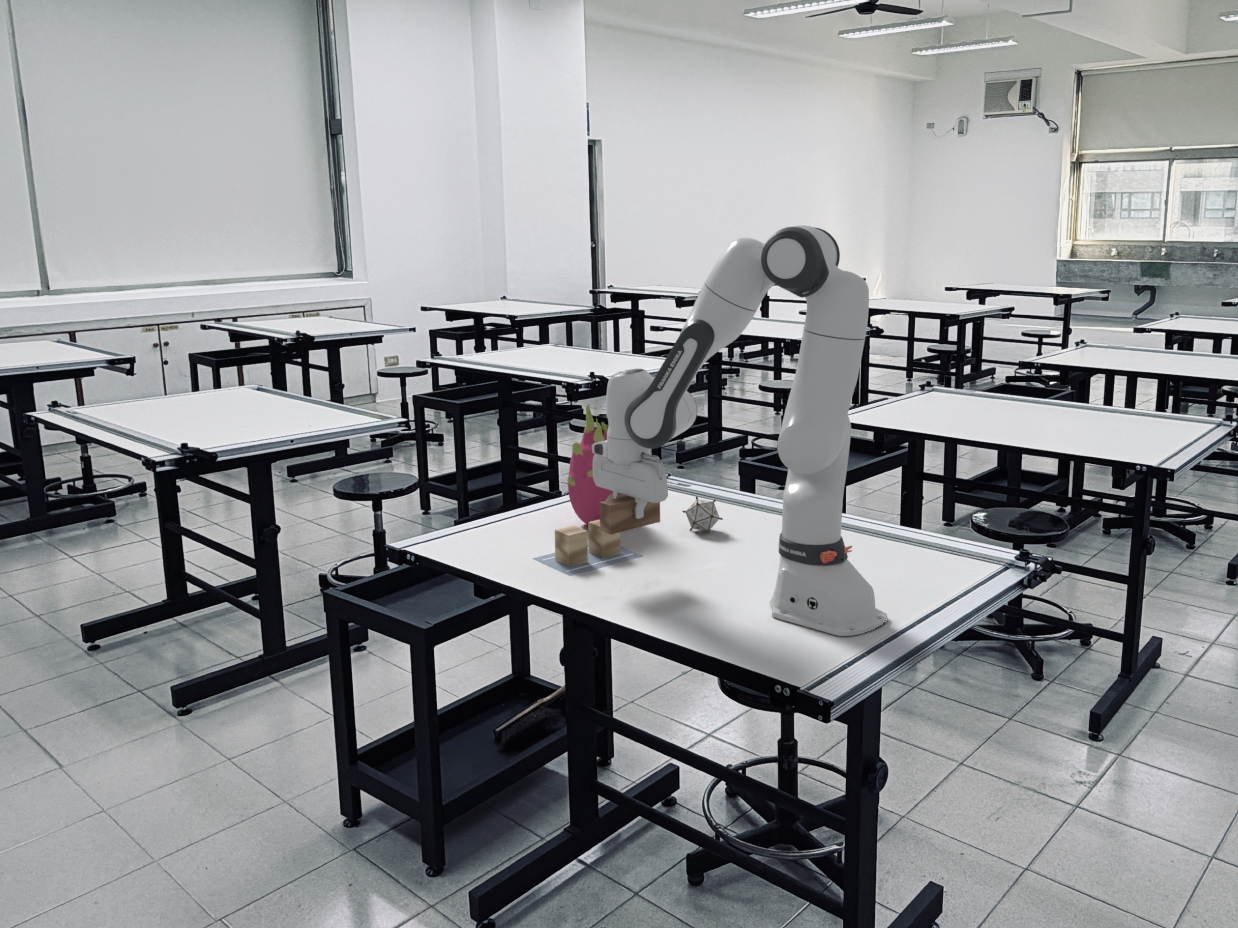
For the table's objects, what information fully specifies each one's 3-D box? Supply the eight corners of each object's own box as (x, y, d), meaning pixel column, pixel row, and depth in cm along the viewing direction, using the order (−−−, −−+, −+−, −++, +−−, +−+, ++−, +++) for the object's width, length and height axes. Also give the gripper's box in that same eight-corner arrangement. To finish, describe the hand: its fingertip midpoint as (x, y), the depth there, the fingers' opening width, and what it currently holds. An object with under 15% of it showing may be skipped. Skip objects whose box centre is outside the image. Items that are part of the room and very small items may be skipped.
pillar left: (587, 561, 221) (587, 530, 219) (568, 566, 217) (568, 535, 216) (574, 556, 224) (573, 525, 223) (555, 560, 221) (554, 529, 220)
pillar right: (620, 553, 226) (620, 523, 224) (602, 558, 223) (602, 527, 221) (606, 547, 230) (606, 517, 228) (588, 552, 227) (588, 522, 225)
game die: (709, 545, 246) (735, 513, 244) (693, 541, 239) (720, 509, 237) (685, 520, 250) (710, 489, 248) (669, 516, 243) (695, 484, 241)
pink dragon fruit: (587, 540, 237) (586, 413, 230) (553, 527, 248) (551, 405, 240) (646, 526, 248) (646, 404, 241) (611, 513, 258) (610, 396, 251)
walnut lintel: (660, 521, 213) (659, 494, 211) (610, 534, 205) (610, 505, 204) (649, 518, 215) (648, 490, 214) (600, 530, 208) (599, 502, 206)
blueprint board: (643, 559, 225) (643, 555, 224) (569, 579, 212) (569, 575, 212) (604, 543, 235) (604, 540, 235) (532, 561, 223) (532, 558, 223)
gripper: (675, 455, 200) (675, 522, 204) (610, 439, 216) (612, 502, 219) (650, 460, 197) (651, 529, 200) (586, 443, 212) (588, 508, 216)
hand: (630, 515), depth 210 cm, fingers closed on walnut lintel, 3 cm apart
